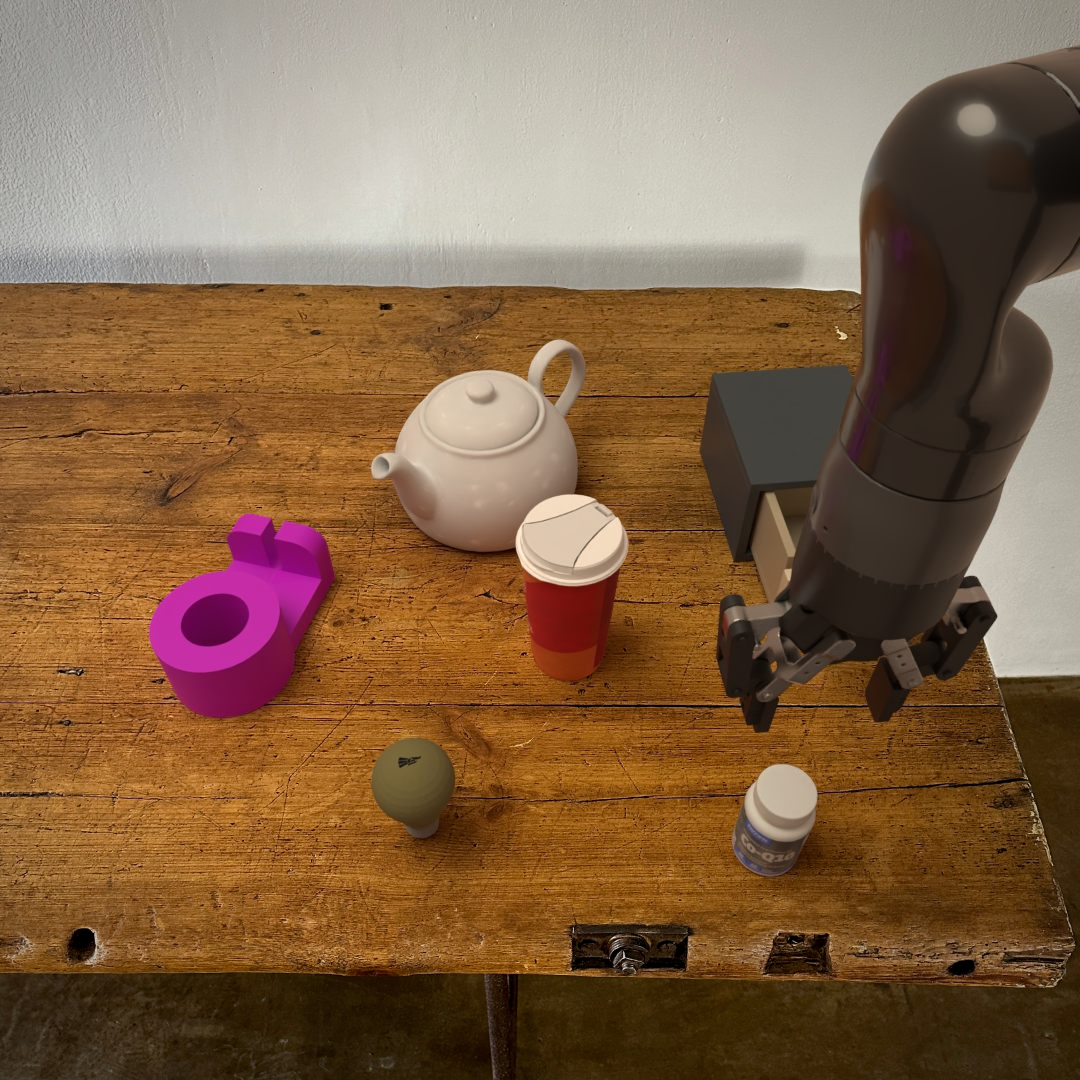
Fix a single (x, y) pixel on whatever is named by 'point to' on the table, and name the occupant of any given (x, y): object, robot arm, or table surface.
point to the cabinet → (767, 437)
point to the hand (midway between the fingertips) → (816, 713)
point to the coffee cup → (570, 581)
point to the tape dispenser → (243, 618)
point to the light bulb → (414, 784)
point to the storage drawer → (778, 536)
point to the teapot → (485, 453)
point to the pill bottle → (775, 820)
